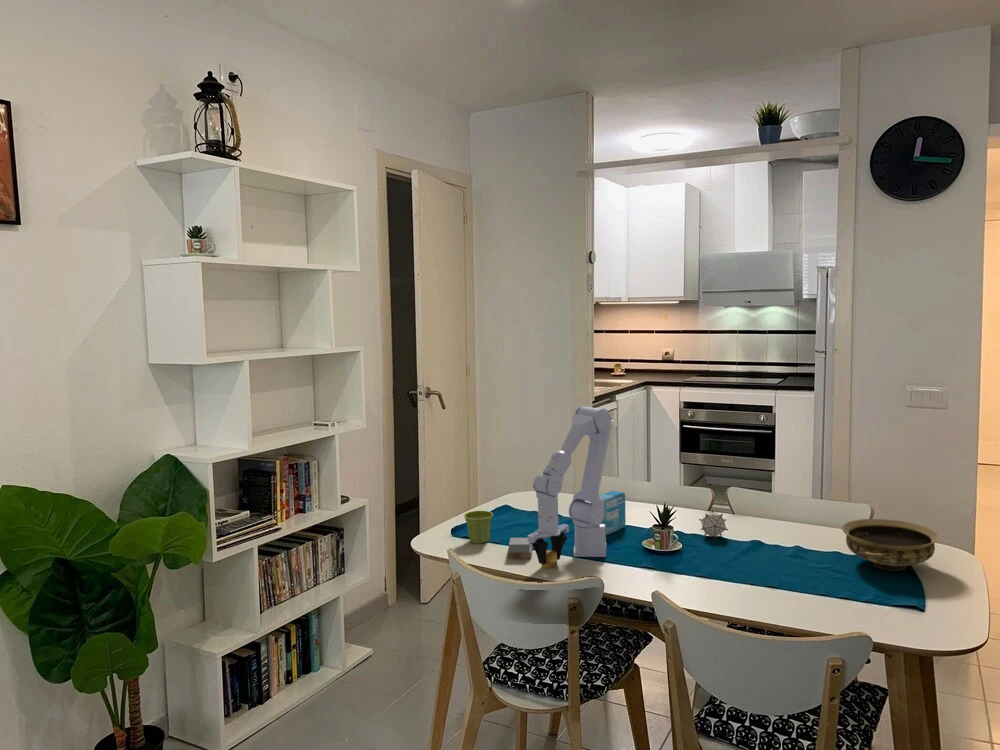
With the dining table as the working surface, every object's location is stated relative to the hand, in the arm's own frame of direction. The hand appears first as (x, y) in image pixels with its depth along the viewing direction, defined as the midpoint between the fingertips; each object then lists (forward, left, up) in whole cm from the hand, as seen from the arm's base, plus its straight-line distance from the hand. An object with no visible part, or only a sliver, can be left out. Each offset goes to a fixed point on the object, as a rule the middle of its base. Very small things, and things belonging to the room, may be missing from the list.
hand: (549, 561), depth 218 cm
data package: (-19, -33, -2) cm, 38 cm away
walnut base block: (+9, -9, -2) cm, 13 cm away
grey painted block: (+9, -9, +1) cm, 13 cm away
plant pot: (+23, -22, -2) cm, 32 cm away
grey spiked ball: (-51, -26, -2) cm, 57 cm away
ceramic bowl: (-94, -1, -2) cm, 94 cm away
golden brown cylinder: (0, 0, -2) cm, 2 cm away
